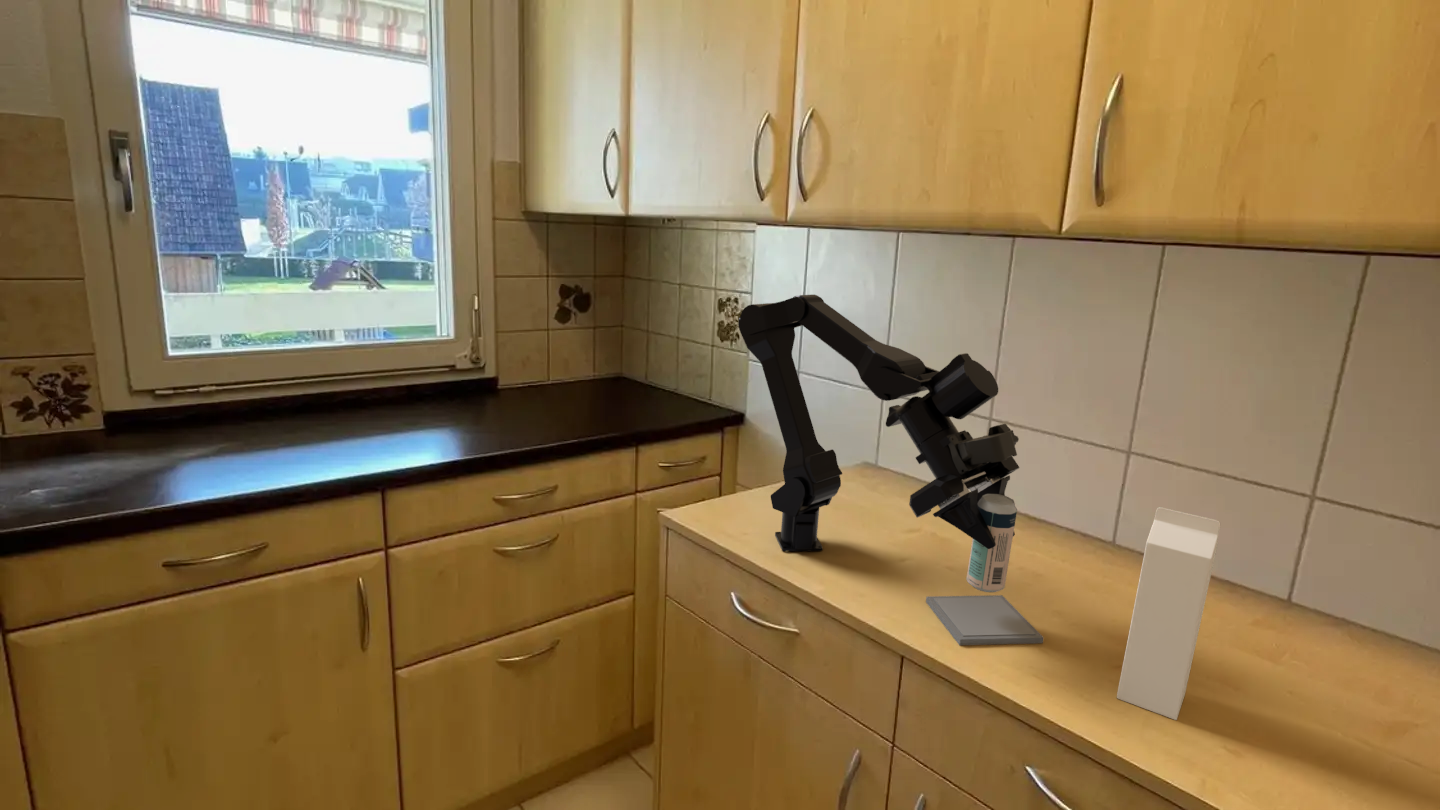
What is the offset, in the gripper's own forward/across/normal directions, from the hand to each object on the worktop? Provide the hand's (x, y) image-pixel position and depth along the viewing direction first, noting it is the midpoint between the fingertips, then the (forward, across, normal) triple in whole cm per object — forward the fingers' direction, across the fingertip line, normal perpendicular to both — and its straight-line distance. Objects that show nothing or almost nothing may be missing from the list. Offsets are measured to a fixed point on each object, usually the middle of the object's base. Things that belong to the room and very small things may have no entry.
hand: (1002, 542), depth 98 cm
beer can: (+4, 0, +6) cm, 7 cm away
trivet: (+8, 0, +9) cm, 12 cm away
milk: (+22, -1, -6) cm, 23 cm away
